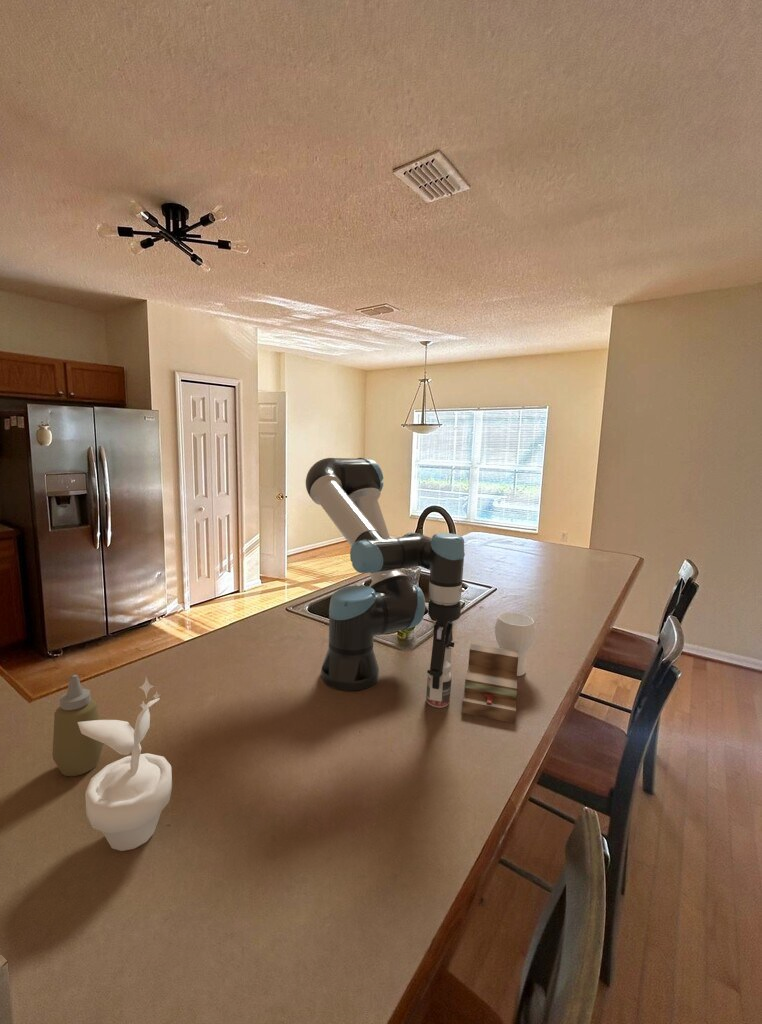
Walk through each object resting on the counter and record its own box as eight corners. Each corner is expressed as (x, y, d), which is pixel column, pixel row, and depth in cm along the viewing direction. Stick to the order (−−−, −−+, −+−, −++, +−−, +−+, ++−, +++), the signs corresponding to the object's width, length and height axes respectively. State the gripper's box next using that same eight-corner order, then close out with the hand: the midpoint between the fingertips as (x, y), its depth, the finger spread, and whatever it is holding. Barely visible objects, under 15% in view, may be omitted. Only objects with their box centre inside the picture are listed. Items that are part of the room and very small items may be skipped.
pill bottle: (430, 710, 108) (433, 670, 107) (422, 696, 114) (424, 659, 112) (453, 707, 110) (456, 668, 108) (444, 694, 115) (446, 657, 114)
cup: (533, 681, 123) (538, 628, 120) (492, 676, 125) (496, 623, 123) (528, 663, 133) (533, 613, 131) (491, 658, 135) (495, 609, 133)
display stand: (461, 712, 108) (464, 672, 106) (468, 678, 123) (470, 643, 121) (514, 723, 105) (518, 682, 103) (514, 687, 120) (518, 651, 118)
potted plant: (185, 805, 78) (180, 667, 74) (153, 869, 67) (146, 710, 62) (108, 804, 78) (100, 665, 73) (64, 868, 66) (51, 708, 62)
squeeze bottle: (95, 745, 91) (90, 660, 89) (112, 765, 86) (107, 676, 84) (47, 766, 85) (39, 676, 82) (62, 789, 80) (54, 694, 77)
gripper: (454, 621, 95) (448, 717, 98) (466, 586, 118) (461, 664, 121) (418, 616, 97) (414, 710, 100) (437, 583, 120) (433, 659, 123)
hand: (440, 685), depth 111 cm, fingers open, 13 cm apart
